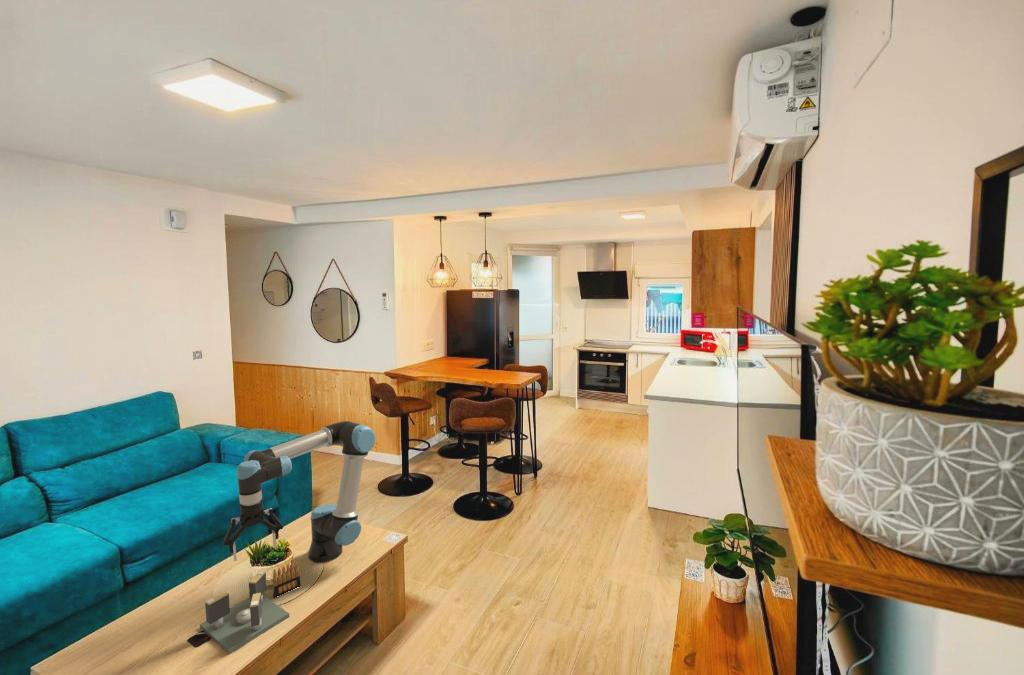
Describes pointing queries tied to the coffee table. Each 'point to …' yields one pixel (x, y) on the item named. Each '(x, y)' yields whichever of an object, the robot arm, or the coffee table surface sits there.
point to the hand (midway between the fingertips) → (255, 553)
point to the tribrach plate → (244, 624)
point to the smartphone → (199, 639)
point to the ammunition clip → (286, 580)
